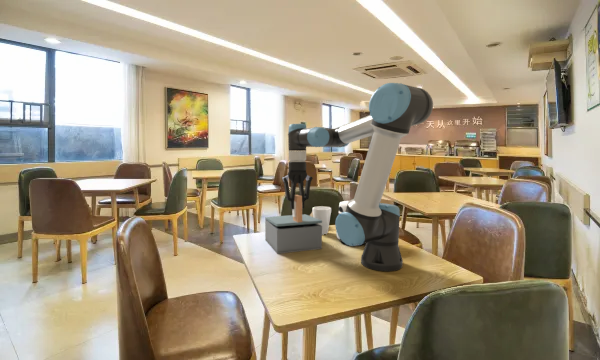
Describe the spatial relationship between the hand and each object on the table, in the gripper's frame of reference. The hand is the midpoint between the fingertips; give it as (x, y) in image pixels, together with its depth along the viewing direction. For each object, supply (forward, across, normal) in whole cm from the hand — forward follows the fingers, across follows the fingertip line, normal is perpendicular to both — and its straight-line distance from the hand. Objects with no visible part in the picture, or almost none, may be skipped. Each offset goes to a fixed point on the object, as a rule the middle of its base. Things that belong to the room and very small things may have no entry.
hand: (297, 216), depth 138 cm
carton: (+14, 0, -7) cm, 16 cm away
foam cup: (+14, -20, -20) cm, 31 cm away
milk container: (+14, -29, -2) cm, 32 cm away
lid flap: (+3, 0, -7) cm, 7 cm away
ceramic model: (+14, -23, -34) cm, 44 cm away
